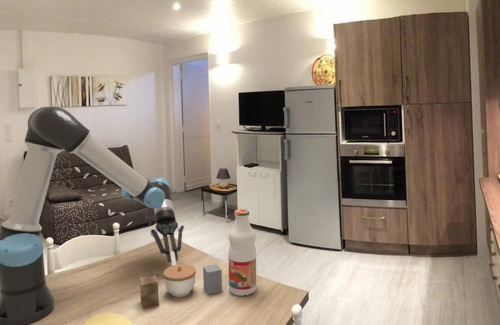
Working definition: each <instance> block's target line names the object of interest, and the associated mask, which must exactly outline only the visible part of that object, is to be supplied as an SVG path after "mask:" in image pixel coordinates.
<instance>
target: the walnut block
mask: <svg viewBox="0 0 500 325" xmlns="http://www.w3.org/2000/svg"><path fill="white" fill-rule="evenodd" d="M139 290H140V303H141V307H142V310H146V309H150V308H155V307H160V297H159V295H160V294H159V281H158V279H157V275H156V274H155V275H149V276H145V277H140V278H139Z"/></svg>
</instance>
